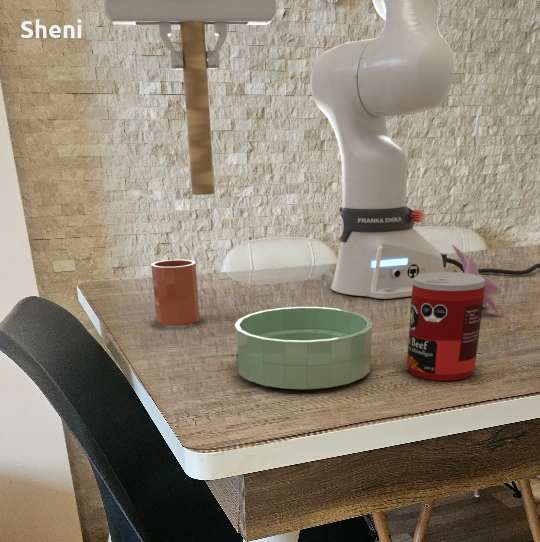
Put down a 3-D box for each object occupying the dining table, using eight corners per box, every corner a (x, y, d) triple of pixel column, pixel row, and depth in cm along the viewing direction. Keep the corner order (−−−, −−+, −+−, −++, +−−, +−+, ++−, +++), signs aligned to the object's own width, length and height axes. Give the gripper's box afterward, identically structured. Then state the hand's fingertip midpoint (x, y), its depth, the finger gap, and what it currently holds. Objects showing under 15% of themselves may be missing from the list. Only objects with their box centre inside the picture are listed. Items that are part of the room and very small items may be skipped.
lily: (493, 333, 98) (528, 272, 96) (422, 298, 99) (454, 237, 97) (484, 337, 110) (514, 282, 108) (420, 305, 111) (449, 251, 109)
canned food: (399, 363, 83) (405, 273, 78) (461, 360, 84) (471, 270, 79) (416, 383, 77) (424, 286, 71) (483, 380, 77) (496, 283, 72)
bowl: (349, 348, 90) (350, 303, 87) (388, 388, 76) (391, 336, 73) (230, 356, 87) (228, 311, 85) (247, 399, 73) (244, 346, 71)
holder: (198, 316, 108) (193, 258, 103) (201, 326, 102) (196, 266, 97) (156, 319, 107) (151, 260, 102) (157, 329, 101) (151, 268, 97)
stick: (213, 192, 89) (203, 12, 80) (215, 194, 87) (205, 8, 78) (191, 193, 89) (178, 12, 80) (192, 195, 86) (179, 8, 77)
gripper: (272, -66, 79) (274, 70, 85) (97, -69, 76) (113, 72, 83) (281, -81, 74) (283, 65, 80) (93, -85, 71) (110, 67, 77)
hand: (195, 68), depth 81 cm, fingers closed on stick, 3 cm apart
